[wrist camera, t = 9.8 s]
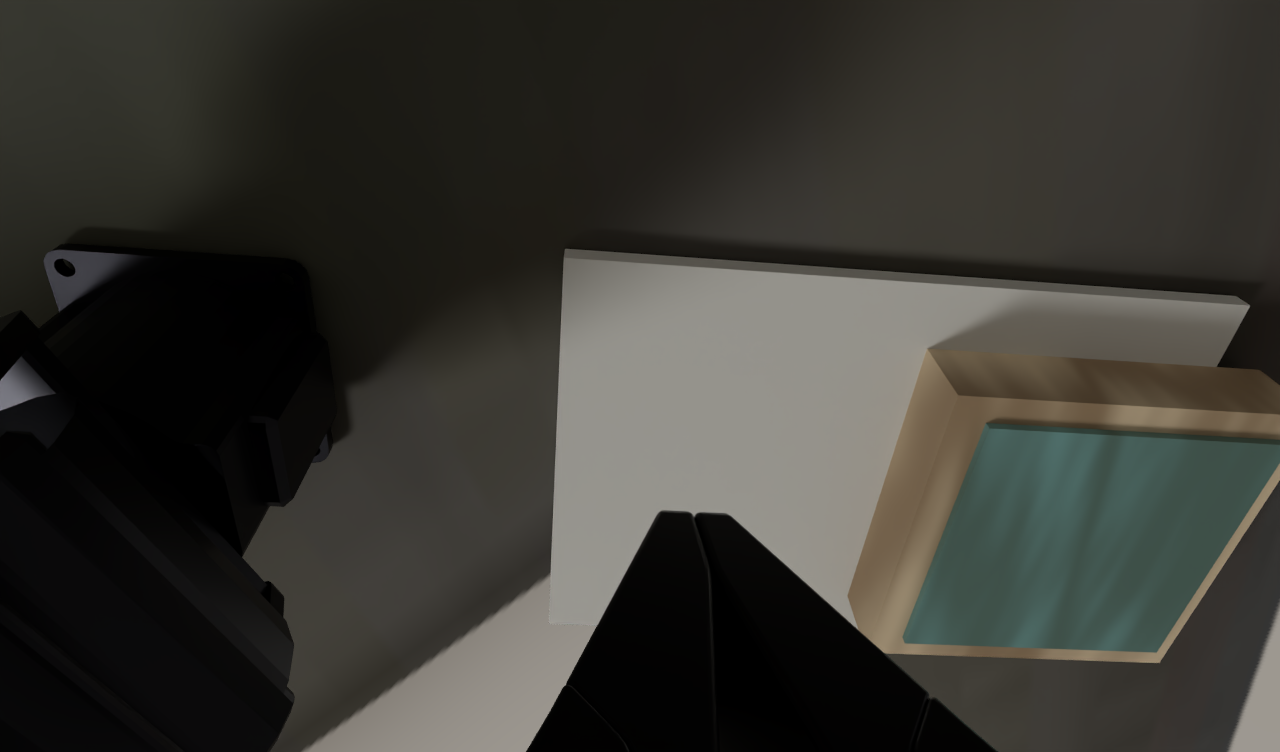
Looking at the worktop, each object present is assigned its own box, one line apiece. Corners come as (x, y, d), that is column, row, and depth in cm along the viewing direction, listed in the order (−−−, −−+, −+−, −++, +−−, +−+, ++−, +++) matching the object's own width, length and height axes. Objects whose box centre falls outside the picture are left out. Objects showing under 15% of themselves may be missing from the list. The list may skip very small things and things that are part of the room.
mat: (549, 610, 29) (548, 623, 28) (564, 248, 21) (563, 257, 21) (1056, 629, 30) (1063, 642, 30) (1236, 296, 23) (1250, 305, 22)
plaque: (867, 658, 26) (1163, 669, 26) (961, 401, 20) (1328, 422, 21) (847, 595, 28) (1120, 606, 29) (927, 348, 23) (1259, 369, 23)
